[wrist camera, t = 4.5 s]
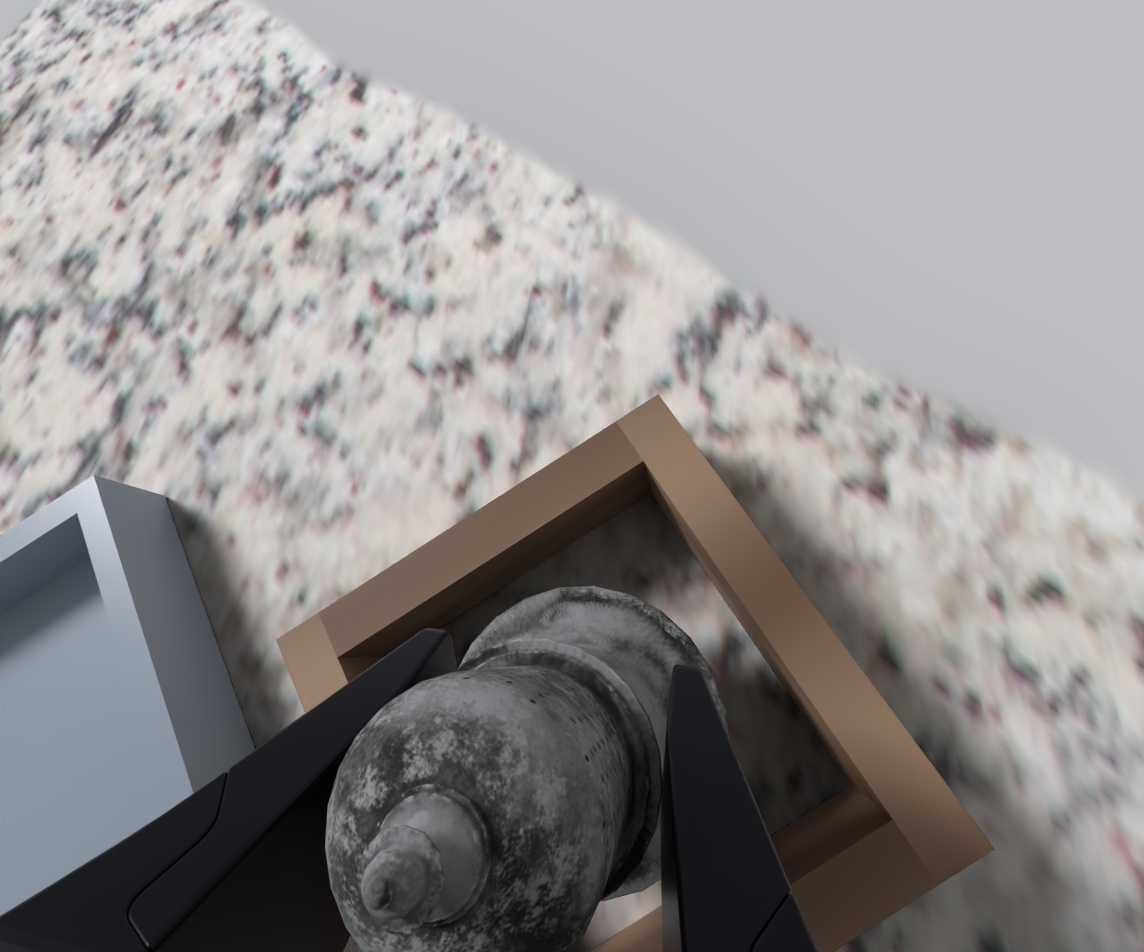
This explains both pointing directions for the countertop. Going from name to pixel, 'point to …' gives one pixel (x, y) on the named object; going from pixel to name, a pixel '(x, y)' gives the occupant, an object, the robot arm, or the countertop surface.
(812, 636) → the socket block
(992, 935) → the countertop surface
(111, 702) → the tray
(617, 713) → the salt shaker
